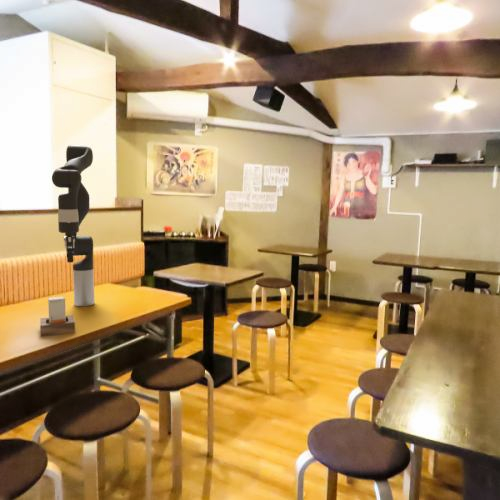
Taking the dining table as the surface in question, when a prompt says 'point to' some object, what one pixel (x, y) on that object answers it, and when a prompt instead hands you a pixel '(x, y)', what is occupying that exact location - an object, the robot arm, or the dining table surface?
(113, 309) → the dining table surface
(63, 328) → the grey slotted box
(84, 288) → the robot arm
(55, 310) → the skincare box
